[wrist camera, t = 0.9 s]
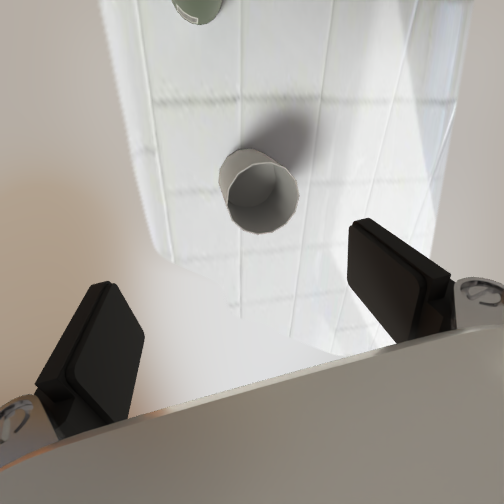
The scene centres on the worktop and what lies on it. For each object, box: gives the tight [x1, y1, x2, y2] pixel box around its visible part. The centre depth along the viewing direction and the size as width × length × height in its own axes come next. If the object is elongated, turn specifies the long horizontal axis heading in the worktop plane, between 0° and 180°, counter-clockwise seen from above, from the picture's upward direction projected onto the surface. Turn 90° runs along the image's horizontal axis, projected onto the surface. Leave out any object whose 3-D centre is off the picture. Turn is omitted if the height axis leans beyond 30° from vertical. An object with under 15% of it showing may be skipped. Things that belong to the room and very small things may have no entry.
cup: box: [218, 148, 299, 235], centre depth 33 cm, size 8×8×10 cm
